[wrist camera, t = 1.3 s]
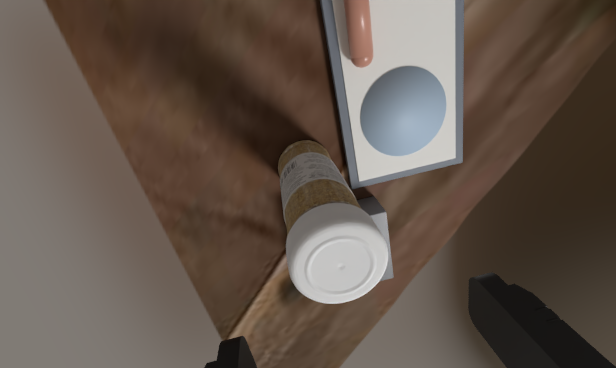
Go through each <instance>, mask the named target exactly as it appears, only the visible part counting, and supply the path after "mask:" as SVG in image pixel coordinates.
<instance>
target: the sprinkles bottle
mask: <svg viewBox="0 0 616 368" xmlns="http://www.w3.org/2000/svg"><path fill="white" fill-rule="evenodd" d="M278 171H279V176H280V187H281V196H282V205H283V214H284V220H285V223H286V227H287V233H288V235H287V241H286V255H287V262H288V268H289V273H290V277H291V279H292V282H293V283H294V285H295V286H296V288H297V289H298V290H299V291H300V292H301V293H302V294H303V295H305V296H306V297H308V298H310V299H312V300H315V301H317V302H321V303H329V304H336V303H344V302H348V301H351V300H354V299H357V298H359V297H361V296H363V295H364V294H366V293H367V292H369V291H370V290H371V289H372V288H373V287H374V286H375V285H376V284H377V283H378V282H379V281H380V279H381V278H382V276H383V274H384V272H385V270H386V267H387V263H388V248H387V244H386V241H385V239H384V237H383V235H382V234H381V232H380V231H379V229H378V227H377V226H376V224H375V222H374V221H373V219H372V218H371V217H370V216H369V214H367V213H366V212H365V211H364V210H362V209H361V207H360V205H359V204H358V202H357V200H356V198H355V196H354V194H353V193H352V191H351V189H350V188H349V186H348V185H347V183H346V181H345V180H344V178H343V176H342V175H341V173H340V172H339V170H338V169H337V167H336V165H335V164H334V163H333V162H332V160H331V158H330V155H329V154H328V151H327V150H326V149H325V148H324V147H323V146H322V145H320V144H318V143H317V142H314V141H310V140H302V141H298V142H295V143H293V144H291V145H289V146H288V147H287V148H286V149H285V150H284V151H283V153H282V155H281V156H280V158H279V162H278Z"/></svg>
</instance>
